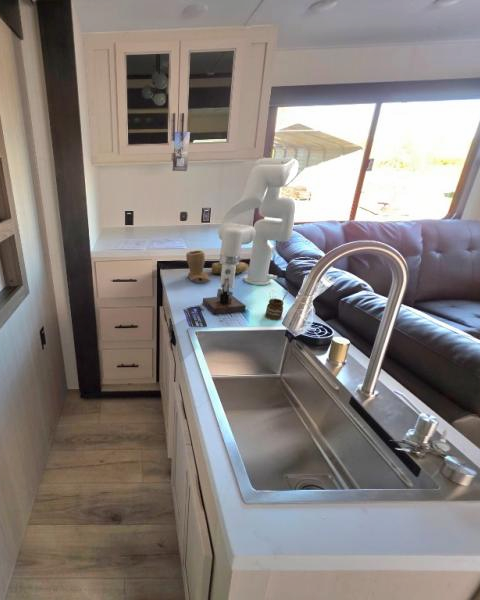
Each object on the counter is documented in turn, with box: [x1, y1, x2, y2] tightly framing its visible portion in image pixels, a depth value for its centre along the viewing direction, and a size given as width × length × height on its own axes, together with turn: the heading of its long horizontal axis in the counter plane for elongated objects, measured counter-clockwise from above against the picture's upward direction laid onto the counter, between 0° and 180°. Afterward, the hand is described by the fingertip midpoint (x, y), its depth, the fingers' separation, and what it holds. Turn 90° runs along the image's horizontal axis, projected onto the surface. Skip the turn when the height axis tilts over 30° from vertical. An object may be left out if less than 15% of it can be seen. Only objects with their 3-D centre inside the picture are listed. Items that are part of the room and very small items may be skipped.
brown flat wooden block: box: [202, 295, 246, 316], centre depth 133 cm, size 14×11×3 cm
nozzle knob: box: [216, 288, 234, 303], centre depth 132 cm, size 6×2×5 cm, turn 72°
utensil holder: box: [265, 289, 289, 321], centre depth 124 cm, size 6×6×12 cm
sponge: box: [211, 261, 249, 275], centre depth 175 cm, size 13×8×20 cm
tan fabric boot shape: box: [185, 250, 211, 284], centre depth 164 cm, size 15×12×15 cm
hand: (223, 300), depth 133 cm, fingers open, 3 cm apart
